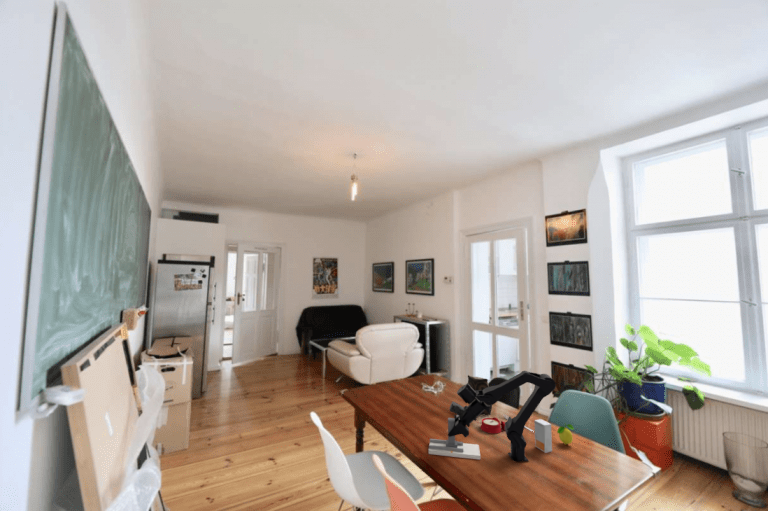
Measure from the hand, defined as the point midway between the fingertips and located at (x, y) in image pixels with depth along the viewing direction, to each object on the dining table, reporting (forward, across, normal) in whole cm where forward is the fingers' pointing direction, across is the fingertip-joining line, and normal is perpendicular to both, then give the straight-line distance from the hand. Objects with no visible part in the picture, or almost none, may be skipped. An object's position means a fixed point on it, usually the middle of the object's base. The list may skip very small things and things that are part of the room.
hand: (448, 434), depth 149 cm
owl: (-8, -51, +18) cm, 55 cm away
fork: (-21, -35, +32) cm, 52 cm away
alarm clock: (-11, -28, +21) cm, 36 cm away
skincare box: (-25, -10, +35) cm, 44 cm away
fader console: (+3, 0, +7) cm, 7 cm away
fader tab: (+3, 0, +5) cm, 6 cm away
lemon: (-33, -18, +43) cm, 57 cm away
